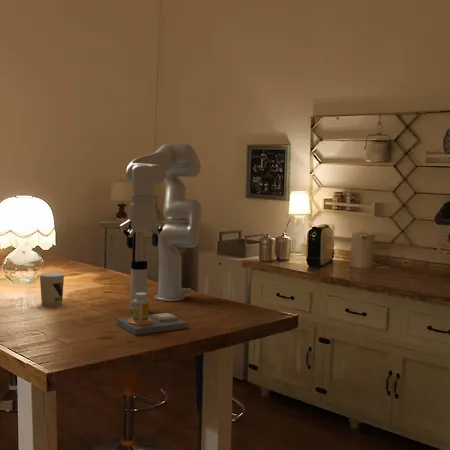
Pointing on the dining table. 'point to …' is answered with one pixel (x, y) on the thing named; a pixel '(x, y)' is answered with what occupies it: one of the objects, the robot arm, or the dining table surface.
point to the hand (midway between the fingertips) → (142, 246)
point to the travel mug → (138, 279)
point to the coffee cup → (51, 289)
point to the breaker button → (164, 315)
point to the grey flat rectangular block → (151, 324)
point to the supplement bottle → (140, 307)
